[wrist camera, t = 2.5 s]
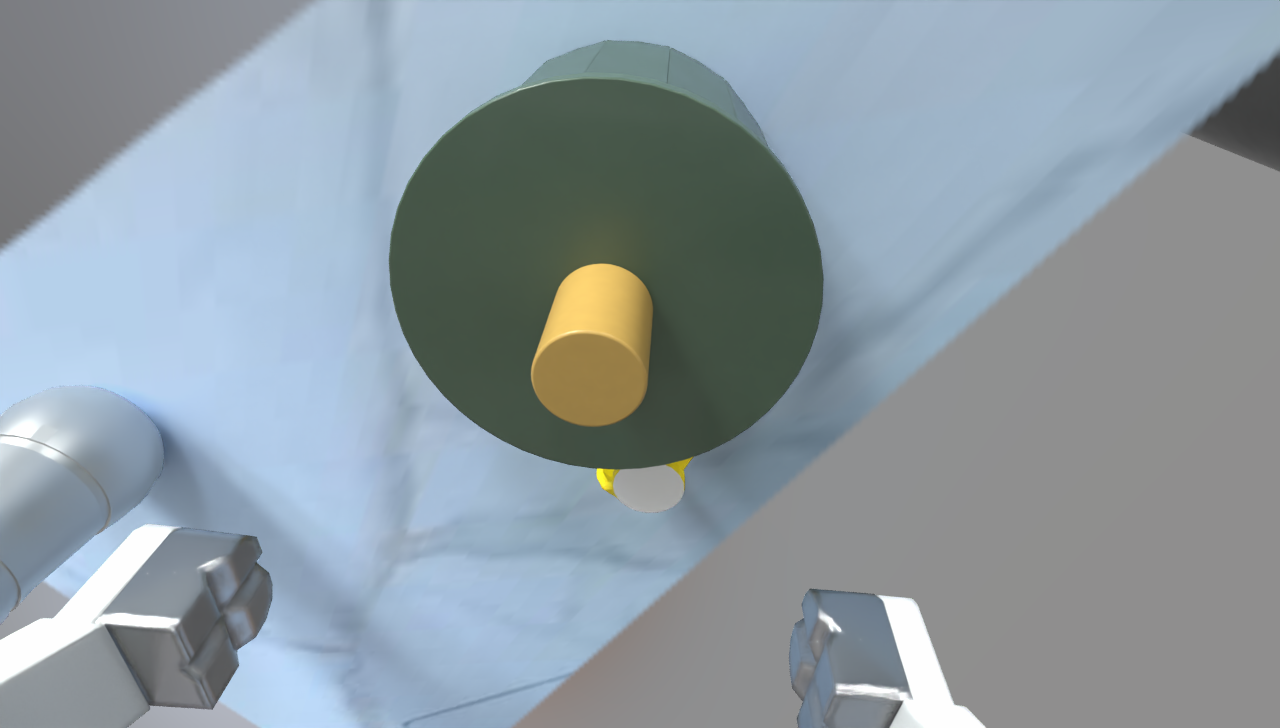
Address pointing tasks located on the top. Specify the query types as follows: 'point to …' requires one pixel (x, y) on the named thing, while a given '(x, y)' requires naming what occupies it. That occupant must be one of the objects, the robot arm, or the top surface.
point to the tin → (651, 72)
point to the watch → (646, 486)
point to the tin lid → (606, 271)
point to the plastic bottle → (67, 478)
